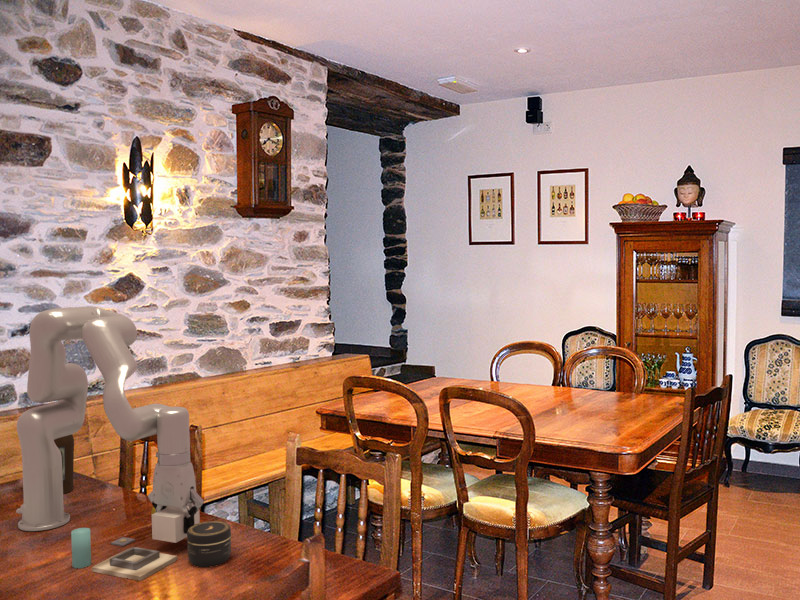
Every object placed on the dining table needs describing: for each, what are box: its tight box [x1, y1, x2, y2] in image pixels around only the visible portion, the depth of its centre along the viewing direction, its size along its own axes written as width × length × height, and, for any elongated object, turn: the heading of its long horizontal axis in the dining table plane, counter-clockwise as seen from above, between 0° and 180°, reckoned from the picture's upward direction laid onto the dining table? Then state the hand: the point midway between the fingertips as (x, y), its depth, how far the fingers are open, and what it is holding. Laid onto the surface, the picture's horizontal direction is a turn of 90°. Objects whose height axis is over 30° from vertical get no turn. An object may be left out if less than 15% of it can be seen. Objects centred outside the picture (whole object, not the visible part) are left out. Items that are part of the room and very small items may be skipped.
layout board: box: [91, 546, 178, 582], centre depth 165 cm, size 14×12×2 cm
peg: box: [70, 527, 92, 569], centre depth 166 cm, size 4×4×8 cm
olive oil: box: [54, 434, 75, 495], centre depth 221 cm, size 11×11×25 cm
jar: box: [186, 520, 232, 568], centre depth 168 cm, size 10×10×8 cm
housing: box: [151, 506, 201, 544], centre depth 176 cm, size 7×9×6 cm
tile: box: [110, 536, 136, 547], centre depth 179 cm, size 4×4×1 cm
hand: (176, 529), depth 176 cm, fingers closed on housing, 7 cm apart
